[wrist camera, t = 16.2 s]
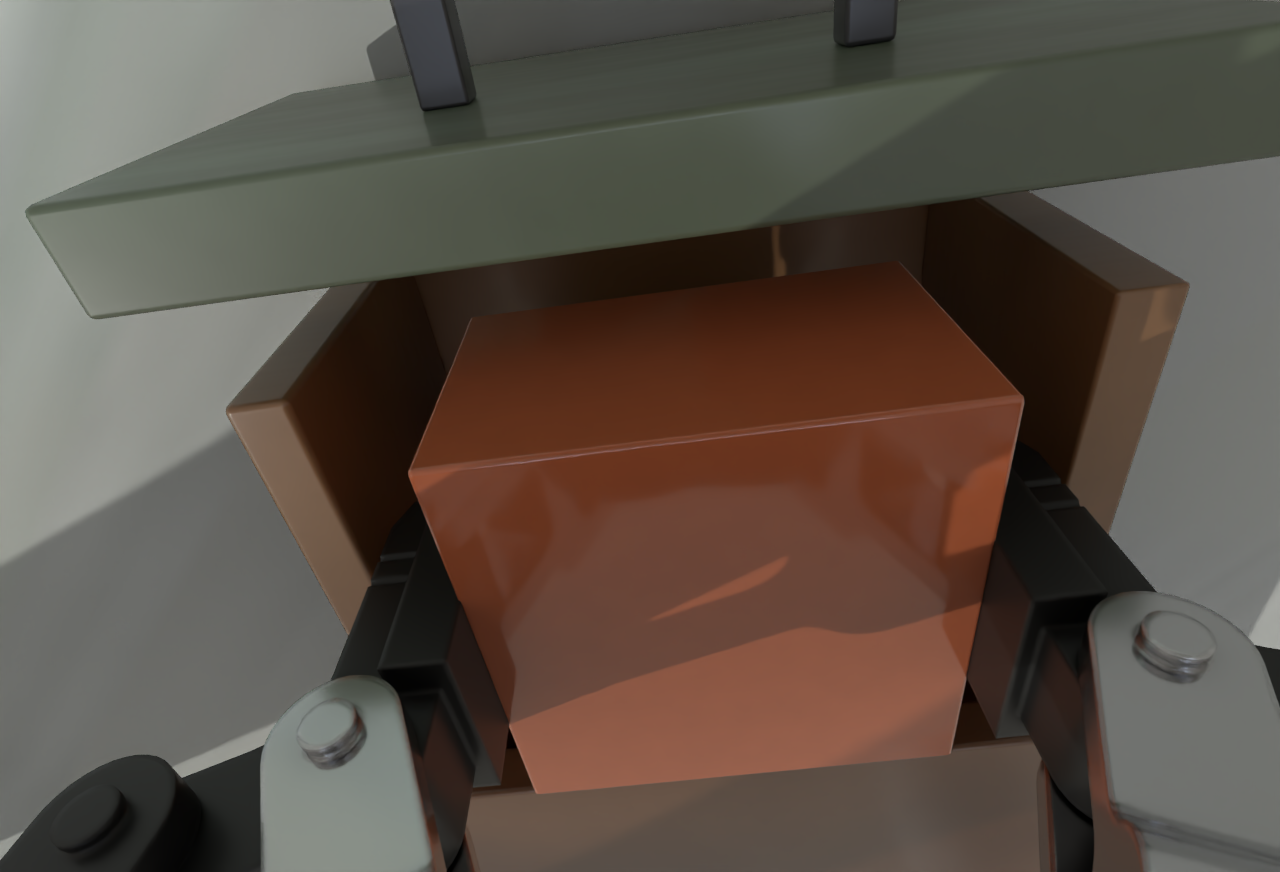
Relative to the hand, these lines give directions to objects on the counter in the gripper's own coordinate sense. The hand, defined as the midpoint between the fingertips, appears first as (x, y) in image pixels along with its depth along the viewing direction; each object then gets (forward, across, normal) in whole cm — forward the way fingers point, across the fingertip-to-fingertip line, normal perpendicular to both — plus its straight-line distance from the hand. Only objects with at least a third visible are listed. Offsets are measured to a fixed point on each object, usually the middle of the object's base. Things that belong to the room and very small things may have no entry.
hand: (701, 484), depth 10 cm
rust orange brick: (+1, 0, 0) cm, 1 cm away
